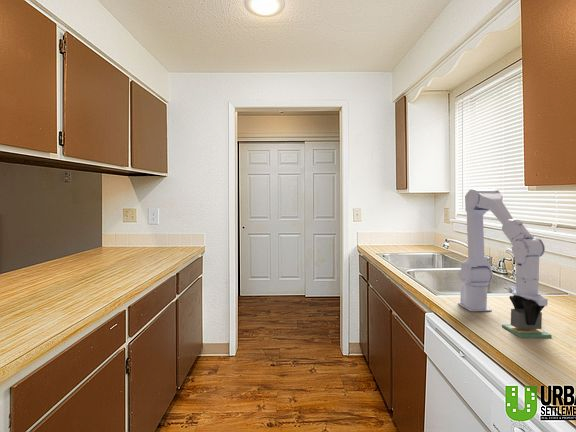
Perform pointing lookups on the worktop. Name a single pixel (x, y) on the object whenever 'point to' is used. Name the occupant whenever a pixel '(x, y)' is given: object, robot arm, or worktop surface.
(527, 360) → the worktop surface
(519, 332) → the board
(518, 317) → the block
